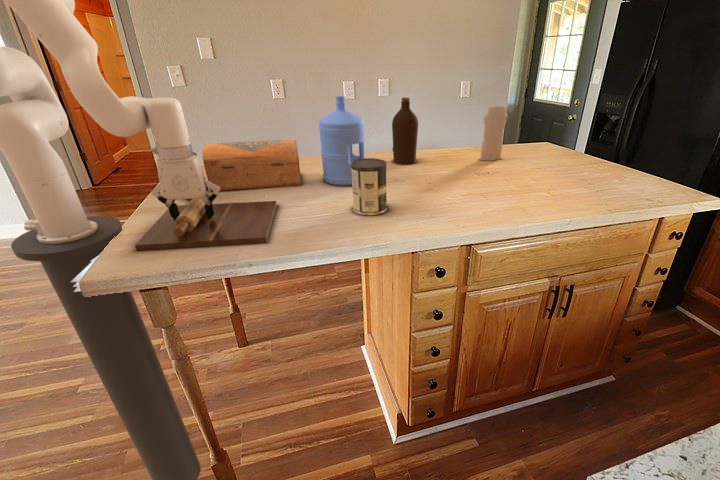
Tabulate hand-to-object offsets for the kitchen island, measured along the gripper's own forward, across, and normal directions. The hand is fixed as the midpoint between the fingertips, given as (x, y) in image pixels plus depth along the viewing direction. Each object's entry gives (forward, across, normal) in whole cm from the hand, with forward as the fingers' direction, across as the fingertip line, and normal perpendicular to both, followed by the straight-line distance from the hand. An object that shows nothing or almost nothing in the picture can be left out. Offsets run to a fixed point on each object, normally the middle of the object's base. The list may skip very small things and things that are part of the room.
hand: (194, 218), depth 105 cm
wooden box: (+3, +11, +38) cm, 40 cm away
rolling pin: (-1, 0, 0) cm, 1 cm away
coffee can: (+3, +48, +6) cm, 48 cm away
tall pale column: (+3, +106, +57) cm, 120 cm away
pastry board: (+2, +5, 0) cm, 6 cm away
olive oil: (+3, +68, +58) cm, 89 cm away
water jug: (+3, +42, +36) cm, 55 cm away
